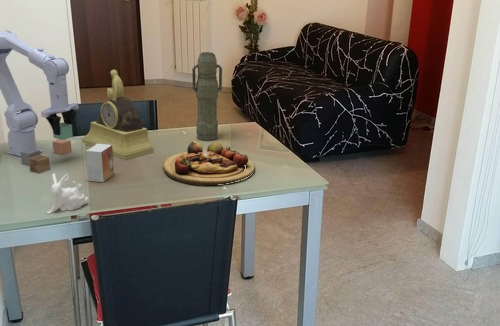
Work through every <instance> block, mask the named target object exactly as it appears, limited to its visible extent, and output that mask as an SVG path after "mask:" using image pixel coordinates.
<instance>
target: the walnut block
mask: <svg viewBox="0 0 500 326" xmlns="http://www.w3.org/2000/svg"><path fill="white" fill-rule="evenodd" d="M50 163H51V162H50V156H46V155H43V154H40V155H38V156H35V157H32V158H29V165H30V166H29V170H30V172H34V173H37V174H42V173H44V172H47V171H50V170H51V165H50Z"/></svg>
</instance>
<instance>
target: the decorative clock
mask: <svg viewBox="0 0 500 326" xmlns="http://www.w3.org/2000/svg"><path fill="white" fill-rule="evenodd" d="M118 74H119V73H118V71H117V69H112V70H111V71H110V76H111V87H108V88H107V89H106V93H107V94H106V95H107V98H108V100H107V101H104V102H103V103H102V105H101V107H100V112H99V114H98V115H97V119H96V121H91V122H90V127H89V131H88V133H87V134H86V135H85V136H84V137H82V138H81V140H82V144H84V143H85V144H84V145H86V144H87V146H89V147H90V148H91V147H93V146H95V145H96V144H107V145H112V150H113V157H115V158H118V159H120V160H123V161H129V160H133V159H135V158H138V157H142V156H145V155H146V156H147V155H149V154H153V153H154V147H153V145H152V143H151V141H150V138H149V134H148V133H149V132H148V128H146V127H143V123H142V120H141V117H140V115H139V113H138V110H137V109H136V107H135V105H134V104H133V102H132V100H131V99H130V98H129V97H127V96H124V95H125V89H124V88H125V87H124V84H123V83H124V82H123V80H122V79H121V77H120V75H118Z"/></svg>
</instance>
